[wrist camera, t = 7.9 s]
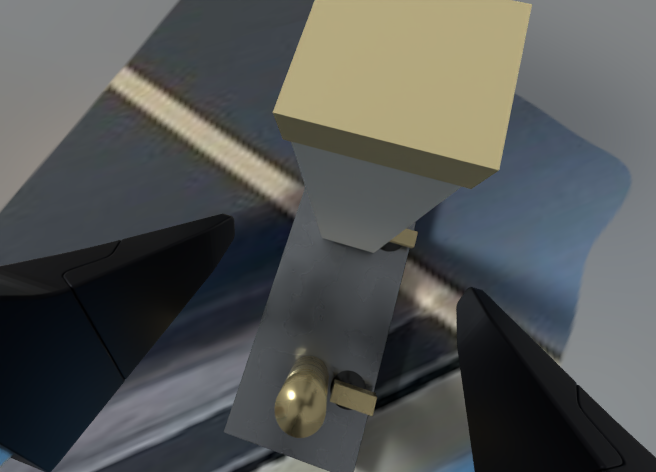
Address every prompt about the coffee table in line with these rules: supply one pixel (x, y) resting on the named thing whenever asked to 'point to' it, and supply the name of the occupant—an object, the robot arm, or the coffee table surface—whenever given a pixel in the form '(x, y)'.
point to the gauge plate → (319, 348)
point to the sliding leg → (398, 108)
